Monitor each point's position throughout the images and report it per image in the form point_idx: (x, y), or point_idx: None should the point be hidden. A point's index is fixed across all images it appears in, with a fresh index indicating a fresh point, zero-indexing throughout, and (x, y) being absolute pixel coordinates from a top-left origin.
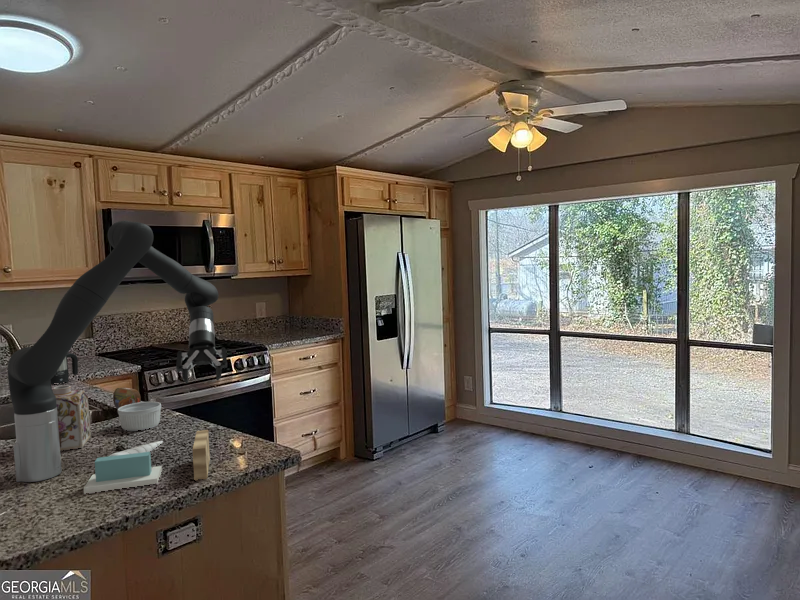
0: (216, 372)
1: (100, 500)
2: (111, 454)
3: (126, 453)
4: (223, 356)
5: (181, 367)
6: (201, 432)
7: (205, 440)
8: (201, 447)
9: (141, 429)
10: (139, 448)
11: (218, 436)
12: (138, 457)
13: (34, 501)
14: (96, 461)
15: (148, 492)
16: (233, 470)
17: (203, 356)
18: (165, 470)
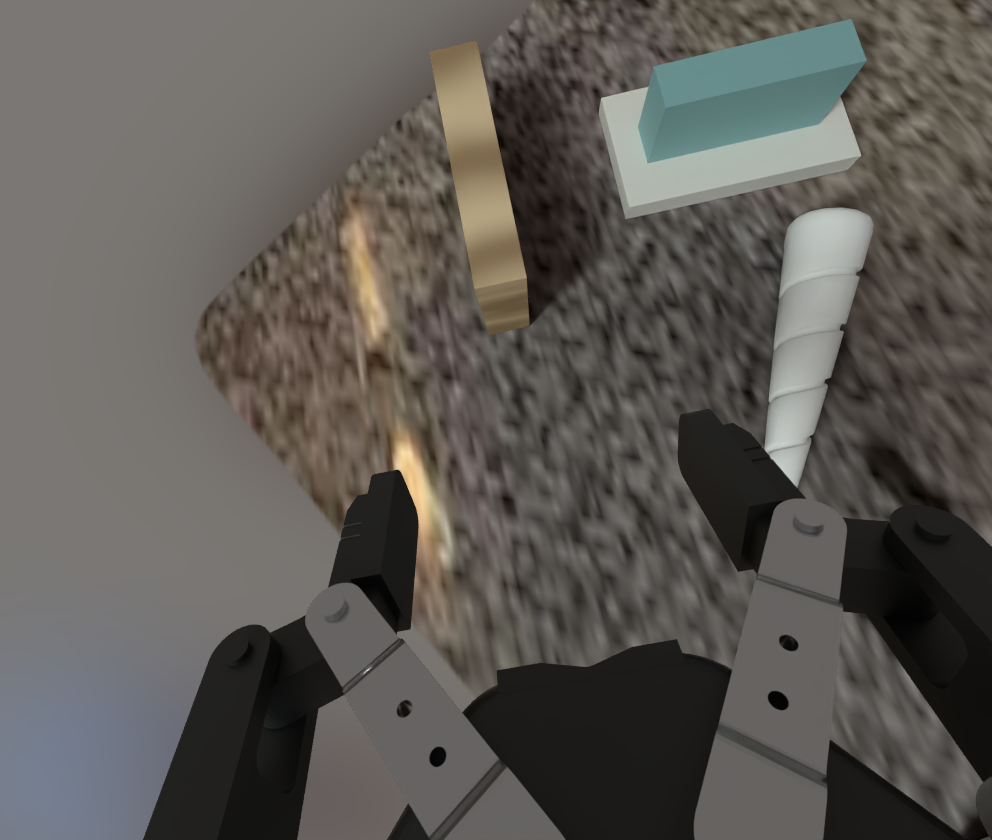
0: (386, 502)
1: (729, 20)
2: (864, 215)
3: (811, 257)
4: (215, 774)
5: (861, 537)
6: (497, 251)
7: (450, 138)
8: (446, 57)
9: (988, 838)
10: (796, 360)
11: (516, 614)
12: (690, 59)
13: (948, 27)
14: (845, 21)
15: (604, 62)
16: (381, 201)
17: (578, 769)
18: (617, 229)
